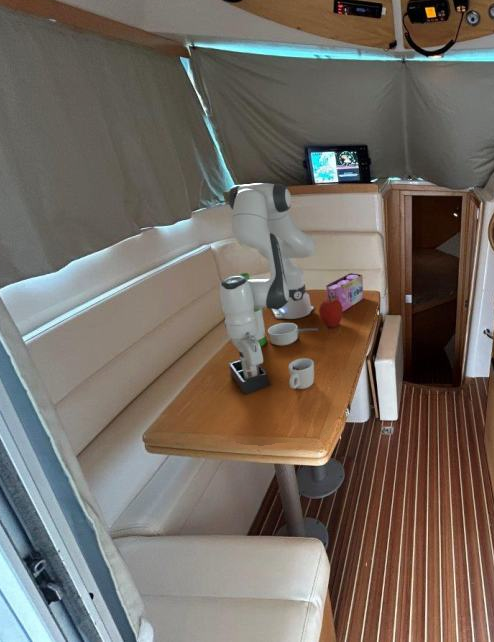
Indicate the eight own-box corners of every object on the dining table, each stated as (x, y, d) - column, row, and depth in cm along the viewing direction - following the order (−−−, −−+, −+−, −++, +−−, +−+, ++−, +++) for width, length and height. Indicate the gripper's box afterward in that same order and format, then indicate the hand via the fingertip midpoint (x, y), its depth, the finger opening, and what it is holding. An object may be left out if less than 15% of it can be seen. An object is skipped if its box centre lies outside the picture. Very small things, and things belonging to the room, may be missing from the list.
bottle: (263, 348, 143) (251, 277, 133) (243, 349, 143) (229, 277, 132) (269, 339, 151) (258, 271, 140) (250, 340, 150) (237, 271, 139)
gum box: (339, 314, 176) (337, 288, 171) (325, 312, 178) (323, 286, 173) (364, 298, 196) (362, 274, 192) (351, 296, 199) (350, 272, 194)
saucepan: (315, 347, 145) (314, 334, 143) (265, 347, 144) (263, 335, 142) (322, 334, 156) (321, 322, 154) (275, 334, 155) (273, 322, 153)
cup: (304, 398, 114) (301, 377, 111) (281, 395, 116) (278, 373, 113) (320, 379, 124) (318, 359, 121) (299, 376, 126) (296, 356, 123)
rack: (231, 375, 126) (228, 363, 124) (254, 367, 131) (252, 356, 129) (245, 394, 116) (242, 382, 114) (269, 385, 121) (267, 373, 119)
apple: (337, 318, 171) (335, 291, 166) (348, 325, 164) (346, 297, 159) (316, 324, 164) (313, 296, 159) (327, 332, 157) (324, 303, 152)
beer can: (263, 376, 121) (257, 344, 116) (250, 383, 117) (244, 351, 112) (254, 372, 123) (248, 341, 119) (241, 378, 119) (234, 347, 115)
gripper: (265, 336, 108) (271, 375, 113) (243, 315, 122) (249, 351, 127) (242, 343, 104) (250, 383, 109) (222, 320, 118) (230, 357, 123)
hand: (249, 365), depth 118 cm, fingers closed on beer can, 5 cm apart
